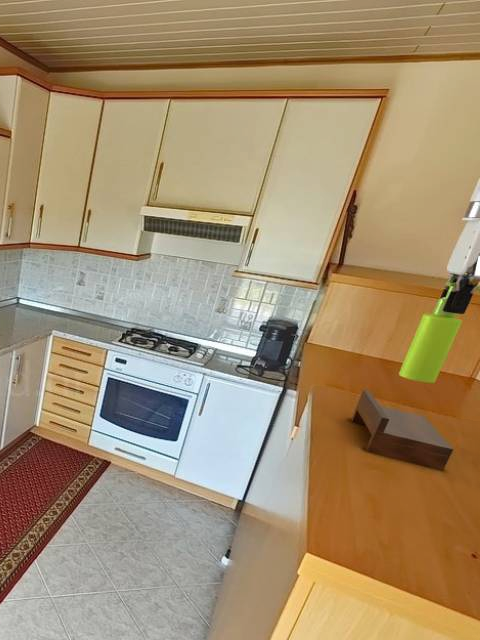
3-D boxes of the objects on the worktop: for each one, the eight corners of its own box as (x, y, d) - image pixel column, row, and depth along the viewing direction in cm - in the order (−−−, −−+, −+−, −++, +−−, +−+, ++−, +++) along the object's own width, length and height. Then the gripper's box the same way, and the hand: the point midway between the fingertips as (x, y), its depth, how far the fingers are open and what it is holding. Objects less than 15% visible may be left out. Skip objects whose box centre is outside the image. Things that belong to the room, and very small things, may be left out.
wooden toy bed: (413, 435, 111) (429, 403, 108) (442, 472, 94) (461, 435, 91) (350, 420, 116) (363, 389, 113) (366, 452, 99) (382, 417, 96)
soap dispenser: (446, 386, 99) (492, 287, 92) (405, 379, 101) (446, 282, 94) (432, 378, 104) (475, 283, 97) (393, 371, 106) (432, 279, 99)
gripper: (540, 215, 82) (490, 321, 89) (501, 217, 96) (460, 309, 102) (481, 211, 86) (437, 313, 92) (451, 213, 99) (414, 303, 106)
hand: (449, 310), depth 97 cm, fingers closed on soap dispenser, 3 cm apart
